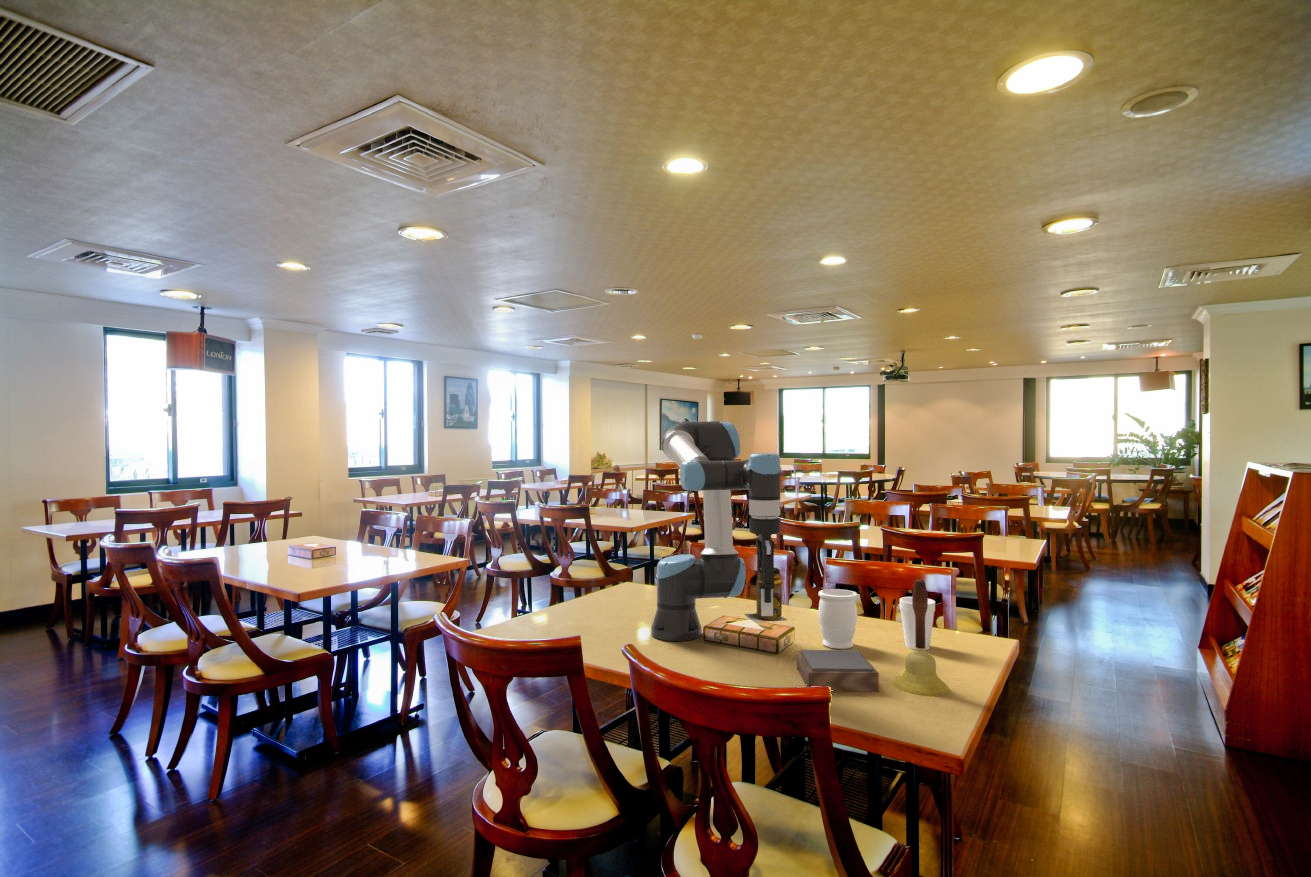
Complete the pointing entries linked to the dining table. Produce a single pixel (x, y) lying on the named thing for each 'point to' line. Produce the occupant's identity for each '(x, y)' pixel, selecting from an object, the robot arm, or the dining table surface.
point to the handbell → (920, 654)
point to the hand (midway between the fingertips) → (765, 611)
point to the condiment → (776, 600)
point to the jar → (837, 617)
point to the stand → (837, 670)
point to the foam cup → (909, 621)
